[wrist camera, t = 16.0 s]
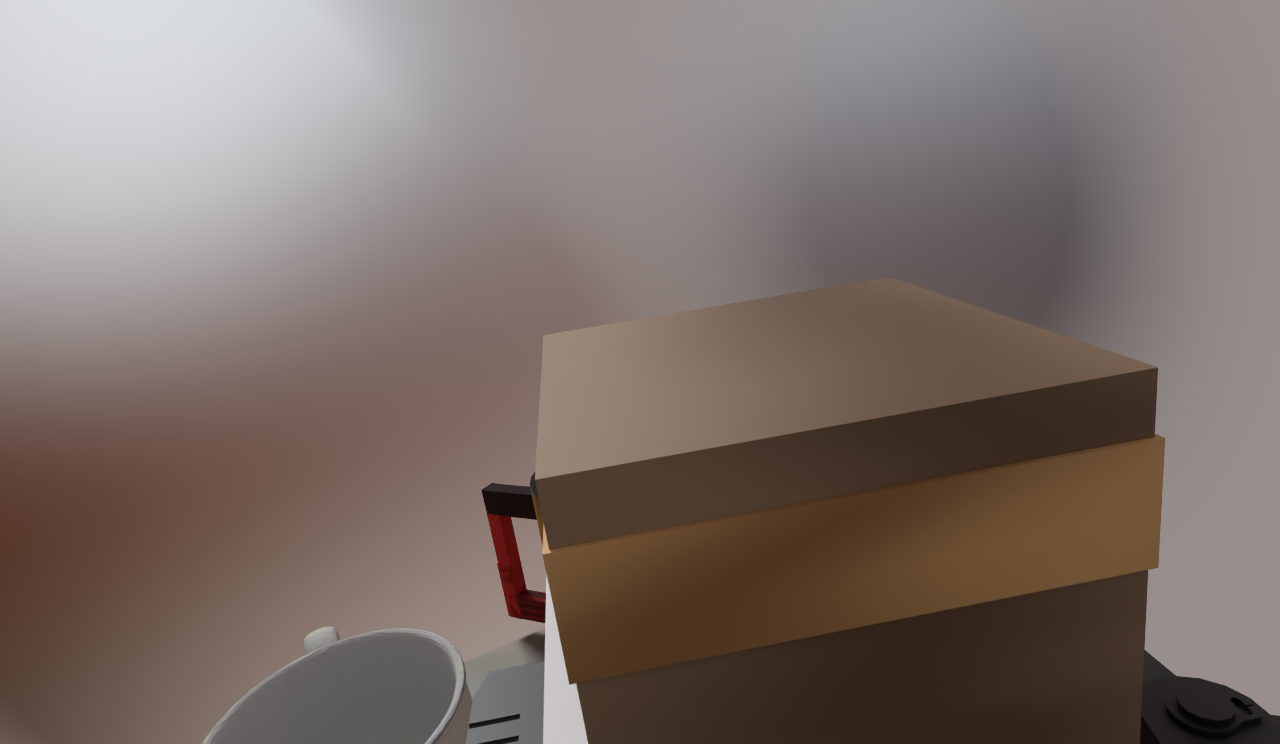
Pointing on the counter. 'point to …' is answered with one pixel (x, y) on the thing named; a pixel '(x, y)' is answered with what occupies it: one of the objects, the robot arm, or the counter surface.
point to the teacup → (357, 694)
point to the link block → (849, 524)
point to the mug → (514, 545)
